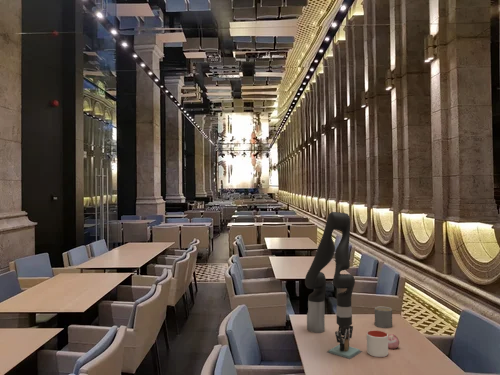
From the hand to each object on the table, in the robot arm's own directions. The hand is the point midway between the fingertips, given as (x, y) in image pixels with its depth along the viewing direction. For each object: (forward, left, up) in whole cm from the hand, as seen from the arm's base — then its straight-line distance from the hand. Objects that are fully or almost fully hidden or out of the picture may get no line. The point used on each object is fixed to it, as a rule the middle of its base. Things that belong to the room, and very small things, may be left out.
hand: (344, 349), depth 202 cm
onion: (+14, +22, -2) cm, 26 cm away
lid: (0, 0, -1) cm, 1 cm away
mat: (0, 0, -2) cm, 2 cm away
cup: (+13, +9, -2) cm, 16 cm away
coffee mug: (-5, +54, -2) cm, 54 cm away
